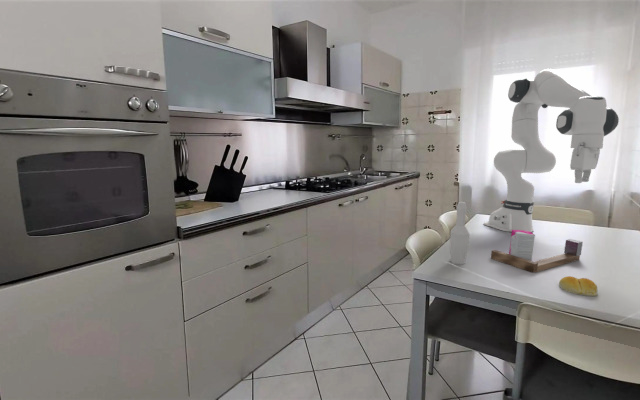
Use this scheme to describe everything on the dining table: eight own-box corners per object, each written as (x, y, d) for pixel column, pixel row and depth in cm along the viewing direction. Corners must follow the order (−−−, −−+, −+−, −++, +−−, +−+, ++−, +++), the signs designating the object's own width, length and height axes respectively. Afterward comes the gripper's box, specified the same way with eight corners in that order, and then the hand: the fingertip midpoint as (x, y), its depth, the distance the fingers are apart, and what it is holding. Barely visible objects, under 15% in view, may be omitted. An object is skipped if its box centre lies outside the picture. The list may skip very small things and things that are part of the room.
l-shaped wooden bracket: (490, 258, 124) (492, 240, 123) (536, 247, 137) (538, 231, 136) (534, 273, 110) (537, 252, 109) (580, 260, 123) (583, 241, 122)
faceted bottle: (445, 259, 124) (449, 200, 120) (463, 259, 124) (467, 200, 120) (451, 265, 118) (456, 203, 114) (470, 266, 117) (475, 204, 114)
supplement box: (531, 266, 118) (535, 234, 116) (513, 264, 119) (516, 233, 117) (525, 260, 123) (528, 230, 121) (507, 259, 124) (510, 229, 122)
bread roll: (558, 282, 104) (559, 270, 104) (594, 289, 100) (596, 276, 99) (559, 292, 97) (560, 279, 97) (598, 300, 93) (601, 286, 92)
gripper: (590, 142, 109) (585, 184, 111) (604, 143, 123) (599, 181, 125) (567, 142, 114) (562, 183, 116) (582, 144, 127) (578, 180, 129)
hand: (581, 182), depth 120 cm, fingers open, 8 cm apart
